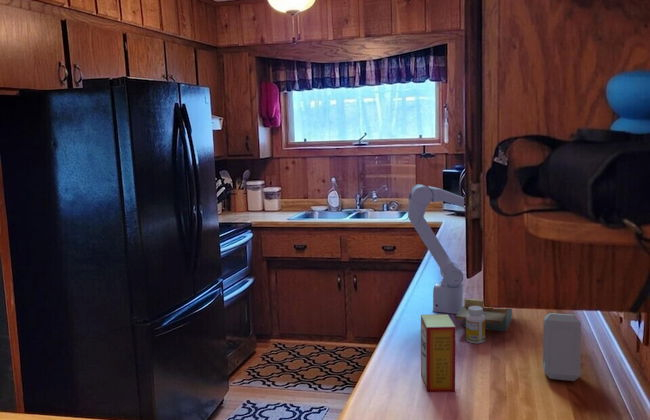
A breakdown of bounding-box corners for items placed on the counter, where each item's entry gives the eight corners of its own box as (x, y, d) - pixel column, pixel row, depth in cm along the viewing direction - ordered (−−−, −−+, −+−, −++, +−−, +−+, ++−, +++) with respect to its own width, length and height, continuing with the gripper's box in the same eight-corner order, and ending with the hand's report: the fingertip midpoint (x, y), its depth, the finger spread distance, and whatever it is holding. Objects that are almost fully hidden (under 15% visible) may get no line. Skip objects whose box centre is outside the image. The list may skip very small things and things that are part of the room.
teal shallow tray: (462, 325, 181) (462, 311, 181) (470, 315, 191) (470, 302, 191) (505, 331, 176) (506, 316, 175) (511, 320, 186) (511, 306, 185)
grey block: (538, 308, 169) (545, 313, 140) (568, 310, 166) (580, 316, 138) (538, 362, 167) (544, 378, 138) (567, 365, 165) (580, 382, 136)
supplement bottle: (479, 335, 172) (479, 303, 170) (488, 342, 167) (489, 309, 165) (462, 338, 171) (462, 306, 169) (471, 345, 166) (471, 312, 164)
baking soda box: (421, 375, 146) (420, 313, 144) (447, 375, 146) (447, 312, 144) (426, 392, 136) (426, 325, 134) (455, 391, 136) (455, 325, 134)
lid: (455, 319, 173) (455, 307, 173) (464, 308, 183) (464, 297, 183) (501, 324, 167) (501, 312, 167) (507, 313, 177) (508, 302, 177)
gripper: (504, 245, 185) (503, 287, 187) (511, 237, 198) (511, 277, 200) (481, 244, 188) (481, 285, 190) (490, 236, 201) (490, 275, 203)
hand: (495, 281), depth 195 cm, fingers closed
